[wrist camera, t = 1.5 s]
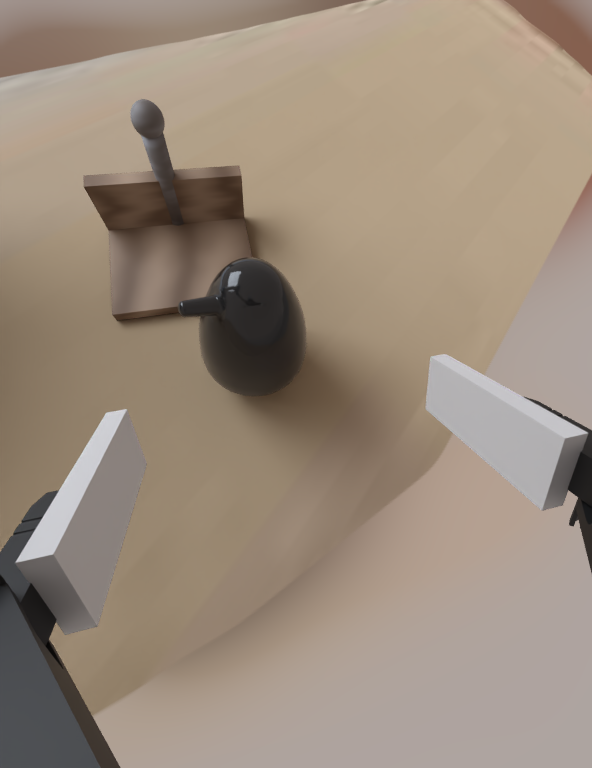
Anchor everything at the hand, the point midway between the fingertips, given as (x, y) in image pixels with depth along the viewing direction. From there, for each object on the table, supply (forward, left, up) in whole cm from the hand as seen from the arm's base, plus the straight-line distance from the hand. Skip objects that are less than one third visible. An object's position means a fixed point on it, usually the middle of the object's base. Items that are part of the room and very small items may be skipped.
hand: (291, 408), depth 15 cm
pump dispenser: (0, +11, -20) cm, 23 cm away
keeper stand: (-6, +25, -20) cm, 33 cm away
